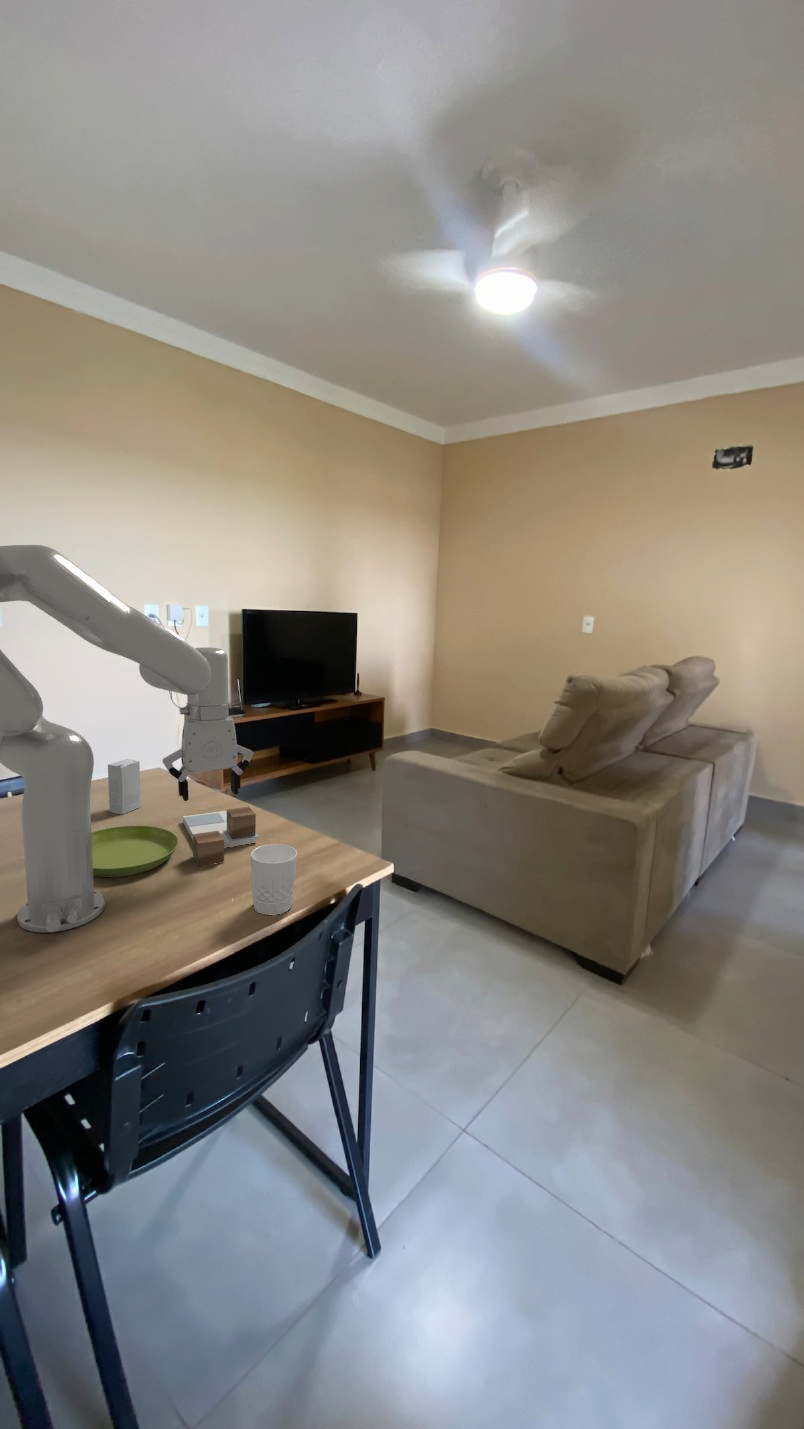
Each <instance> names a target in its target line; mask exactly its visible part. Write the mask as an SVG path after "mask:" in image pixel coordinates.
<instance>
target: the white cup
mask: <svg viewBox="0 0 804 1429" xmlns="http://www.w3.org/2000/svg"><path fill="white" fill-rule="evenodd" d="M297 860H298V850H297V849H296V848H294V847H293V846H291V845H287V844H281V843H270V844H269V843H268V844H263V845H260V846H258V847H255V848H254V849H252V851H251V852H250V870H251V871H250V873H251V875H250V877H251V878H250V879H251V890H252V891H251V893H252V900H253V901H252V904H253V905H254V906H253V905H252V906H253V910H254V909H255V910H257V911H258V912H260V913H263V914H275V915H274V916H277V915H276V914H280V915H283V914H285V913H284V912H286V911H287V912H289V911H290V910H291V909H290V908H292V907H293V905H294V892H295V886H296V885H295V884H296V876H297ZM292 904H293V905H292ZM291 906H292V907H291ZM289 909H290V910H289ZM255 910H254V911H255ZM288 910H289V911H288ZM257 911H256V912H257ZM258 912H257V913H258ZM287 912H286V913H287ZM282 913H283V914H282ZM263 914H262V915H263Z"/></svg>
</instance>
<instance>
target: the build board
mask: <svg viewBox="0 0 804 1429" xmlns="http://www.w3.org/2000/svg"><path fill="white" fill-rule="evenodd" d="M182 823H183V825H184V827H185V829H186V832H187V833H188V835H189V836H190V838H191V840H192V841H193V834H198V833H205V832H212V831H219V833H220V834H221V836H222V837H223V839H224V849H226V848H225V847H230V848H233V847H232V846H236V845H243V844H248V843H255V842H256V843H257V838H260V836H261V835H259V834H258V833H257V830H255V836H250V837H244V838H237V839H232V838H231V836H230V835H229V834H228V832H227V810H221V811H220V810H219V811H214V812H205V813H197V814H190V815H183V816H182ZM256 843H255V844H256ZM243 846H244V845H243Z"/></svg>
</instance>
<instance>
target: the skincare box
mask: <svg viewBox="0 0 804 1429" xmlns="http://www.w3.org/2000/svg"><path fill="white" fill-rule="evenodd" d="M140 762H141V761H139V760H136V759H135V760H134V759H130V758H126V759H121V760H119V761H116V762H113V763H110V764H107V777H108V778H107V779H108V805H109V806H108V807H109V808H108V811H109V813H112V814H117V815H125V814H128V813H130V812H132V811H135V810H137V809H139V808H141V804H142V802H141V798H142V797H141V768H140V767H141V766H140V764H141V763H140Z"/></svg>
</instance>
